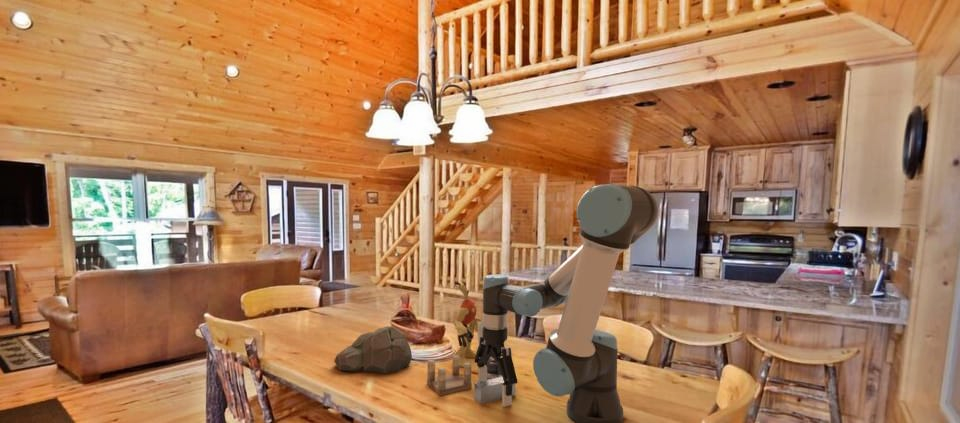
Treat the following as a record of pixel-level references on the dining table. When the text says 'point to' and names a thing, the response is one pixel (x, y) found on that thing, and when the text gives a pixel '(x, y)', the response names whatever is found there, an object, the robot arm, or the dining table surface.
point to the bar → (490, 390)
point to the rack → (449, 377)
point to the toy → (464, 332)
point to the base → (492, 376)
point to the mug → (480, 331)
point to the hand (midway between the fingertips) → (494, 396)
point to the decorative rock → (376, 352)
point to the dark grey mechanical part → (493, 366)
